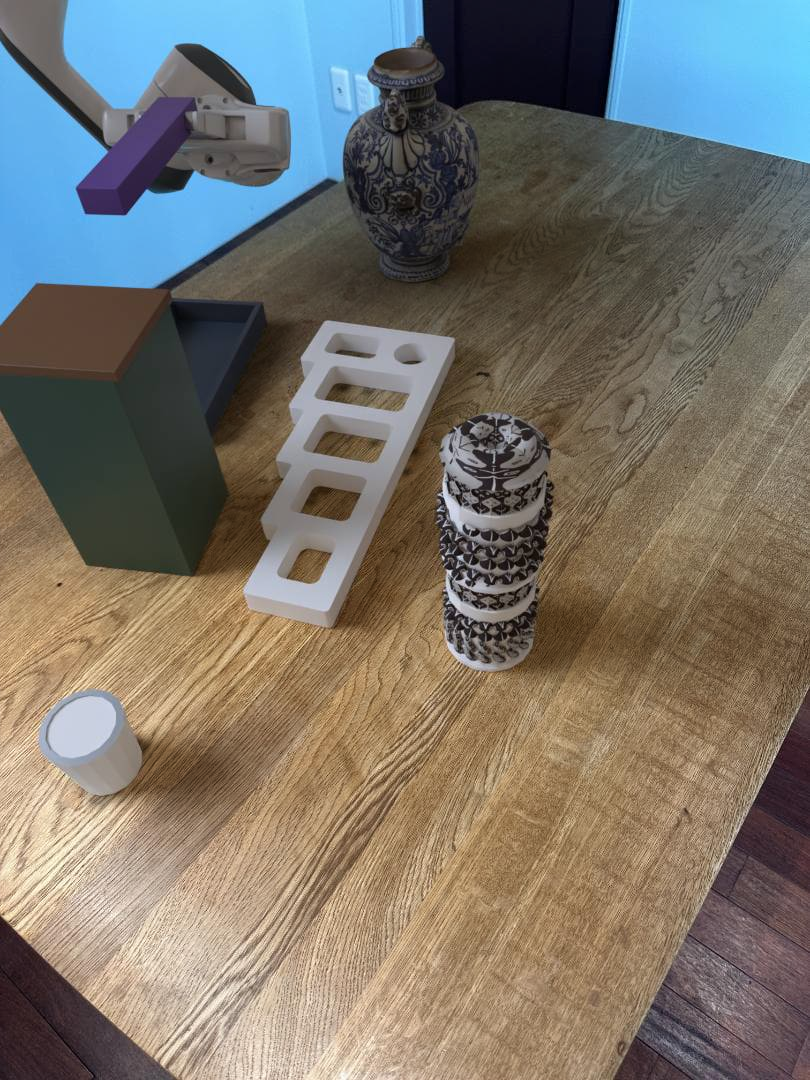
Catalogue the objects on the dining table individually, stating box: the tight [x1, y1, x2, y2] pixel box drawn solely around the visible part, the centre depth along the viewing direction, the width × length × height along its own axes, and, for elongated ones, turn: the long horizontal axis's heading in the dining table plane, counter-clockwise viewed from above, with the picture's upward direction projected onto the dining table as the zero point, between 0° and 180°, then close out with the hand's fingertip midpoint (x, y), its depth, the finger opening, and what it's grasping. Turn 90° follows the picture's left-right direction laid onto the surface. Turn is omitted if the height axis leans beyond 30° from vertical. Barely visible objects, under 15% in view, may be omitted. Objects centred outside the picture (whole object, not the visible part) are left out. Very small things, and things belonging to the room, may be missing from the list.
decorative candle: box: [435, 411, 555, 673], centre depth 68 cm, size 9×9×25 cm
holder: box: [242, 320, 456, 629], centre depth 93 cm, size 45×18×3 cm, turn 162°
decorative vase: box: [342, 35, 480, 283], centre depth 111 cm, size 21×19×28 cm
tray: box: [169, 297, 268, 438], centre depth 105 cm, size 14×26×4 cm, turn 170°
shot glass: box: [37, 688, 143, 797], centre depth 68 cm, size 7×7×7 cm
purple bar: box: [75, 97, 198, 216], centre depth 78 cm, size 4×20×2 cm, turn 170°
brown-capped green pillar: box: [0, 282, 230, 577], centre depth 79 cm, size 13×12×26 cm
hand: (165, 120), depth 82 cm, fingers closed on purple bar, 4 cm apart
